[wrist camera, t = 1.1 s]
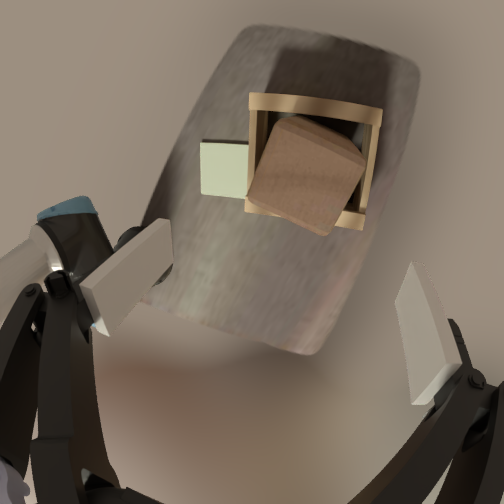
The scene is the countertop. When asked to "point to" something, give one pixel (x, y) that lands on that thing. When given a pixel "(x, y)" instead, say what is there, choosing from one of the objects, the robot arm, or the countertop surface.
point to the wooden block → (306, 173)
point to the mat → (224, 169)
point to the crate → (267, 102)
